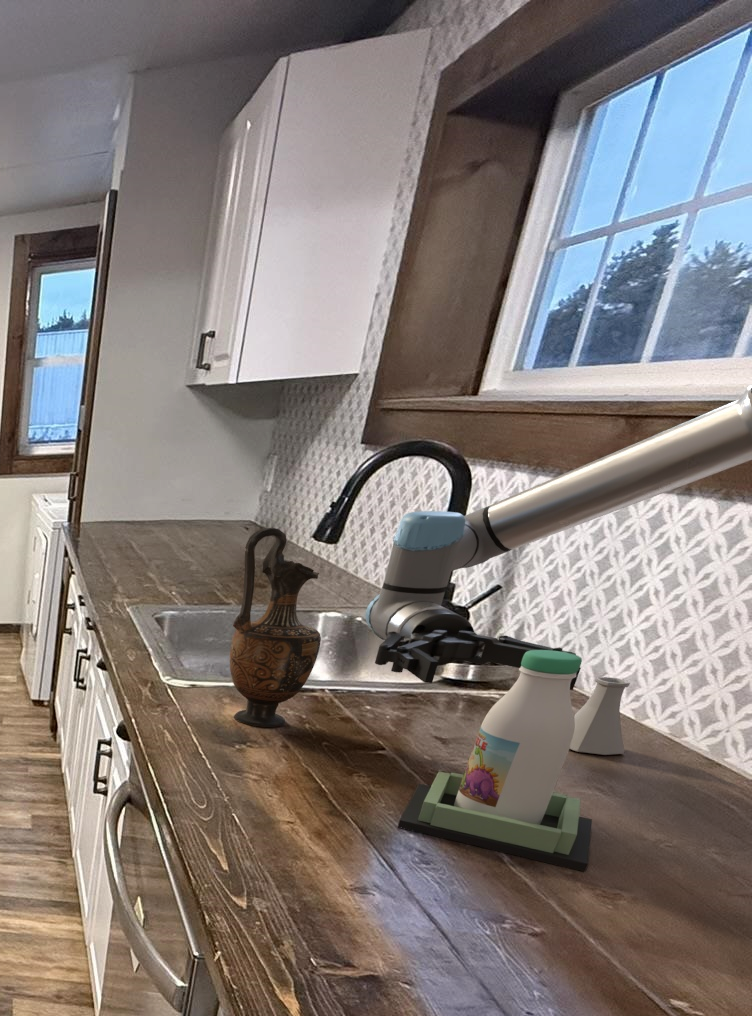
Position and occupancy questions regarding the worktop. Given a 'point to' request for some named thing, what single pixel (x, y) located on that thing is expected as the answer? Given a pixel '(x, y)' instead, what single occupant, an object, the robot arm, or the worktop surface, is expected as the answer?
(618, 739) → the flask
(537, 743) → the milk bottle
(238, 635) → the vase
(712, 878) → the worktop surface
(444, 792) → the docking pad
